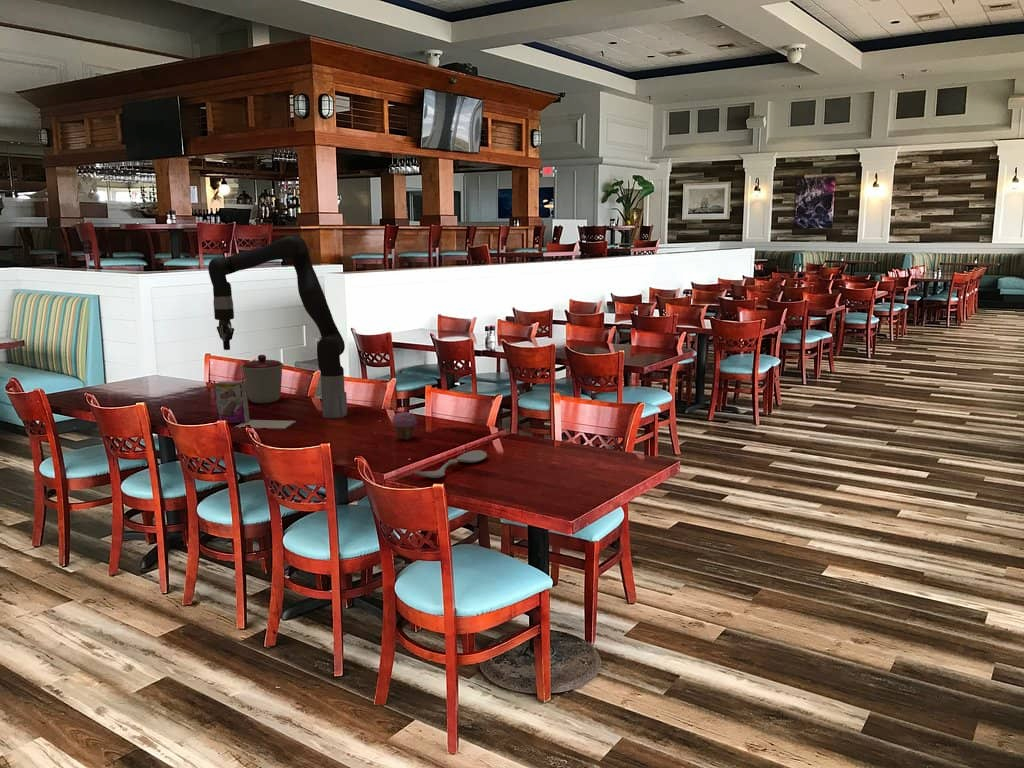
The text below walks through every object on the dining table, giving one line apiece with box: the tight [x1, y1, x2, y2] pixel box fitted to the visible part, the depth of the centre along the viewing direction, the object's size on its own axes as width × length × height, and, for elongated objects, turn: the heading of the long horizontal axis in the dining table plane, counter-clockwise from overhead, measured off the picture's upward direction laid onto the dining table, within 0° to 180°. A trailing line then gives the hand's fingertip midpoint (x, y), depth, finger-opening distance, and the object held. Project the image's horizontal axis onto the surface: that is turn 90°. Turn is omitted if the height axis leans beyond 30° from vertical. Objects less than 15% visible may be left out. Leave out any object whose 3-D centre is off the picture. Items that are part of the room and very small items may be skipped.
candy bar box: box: [213, 380, 251, 424], centre depth 325 cm, size 11×5×16 cm, turn 84°
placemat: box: [234, 419, 297, 430], centre depth 323 cm, size 20×12×1 cm, turn 83°
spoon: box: [413, 449, 488, 479], centre depth 262 cm, size 9×32×4 cm, turn 150°
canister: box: [240, 354, 284, 404], centre depth 365 cm, size 18×18×21 cm
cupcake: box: [392, 411, 418, 441], centre depth 299 cm, size 9×9×10 cm
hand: (226, 349), depth 337 cm, fingers closed
